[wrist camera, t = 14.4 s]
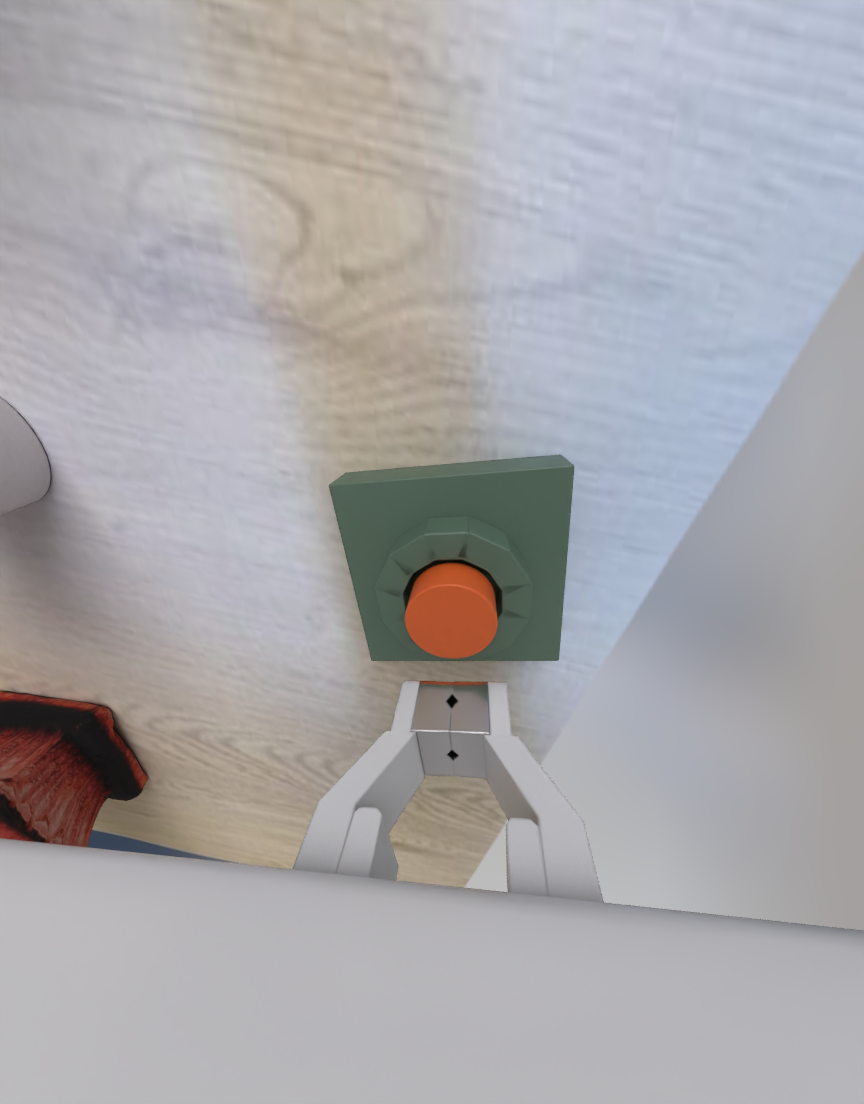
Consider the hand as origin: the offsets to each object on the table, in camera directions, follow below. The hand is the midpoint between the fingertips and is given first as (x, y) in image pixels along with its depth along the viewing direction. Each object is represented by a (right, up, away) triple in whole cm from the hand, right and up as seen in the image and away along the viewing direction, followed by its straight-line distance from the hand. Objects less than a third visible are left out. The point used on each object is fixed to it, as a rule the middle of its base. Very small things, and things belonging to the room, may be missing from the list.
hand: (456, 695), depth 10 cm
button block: (+1, +4, +8) cm, 9 cm away
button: (0, +2, +5) cm, 5 cm away
